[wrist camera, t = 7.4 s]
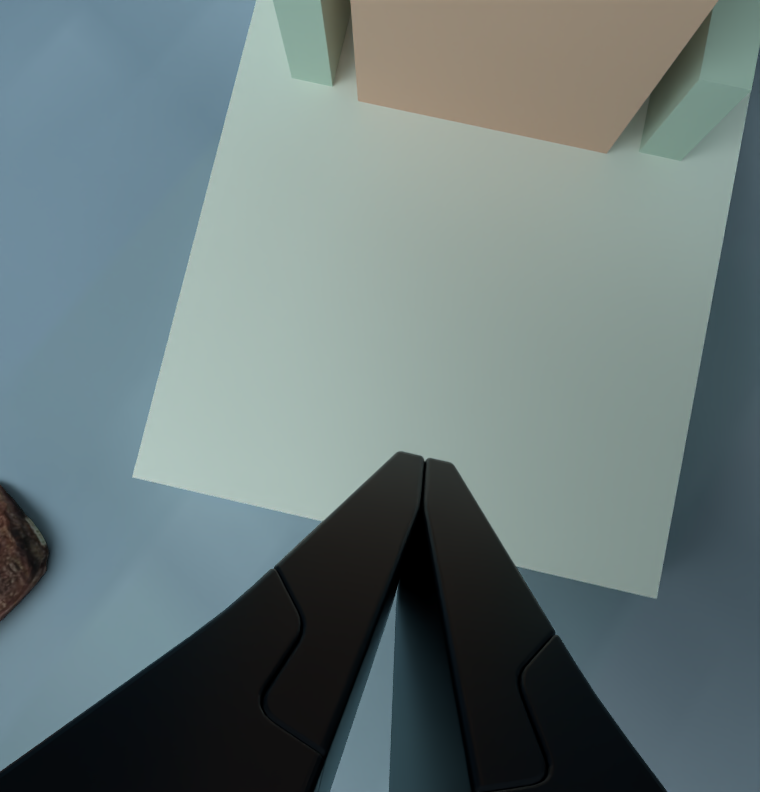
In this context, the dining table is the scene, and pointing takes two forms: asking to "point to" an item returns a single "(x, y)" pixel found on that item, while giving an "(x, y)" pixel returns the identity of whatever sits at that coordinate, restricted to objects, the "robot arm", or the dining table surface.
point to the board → (453, 299)
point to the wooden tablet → (18, 554)
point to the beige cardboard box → (522, 61)
